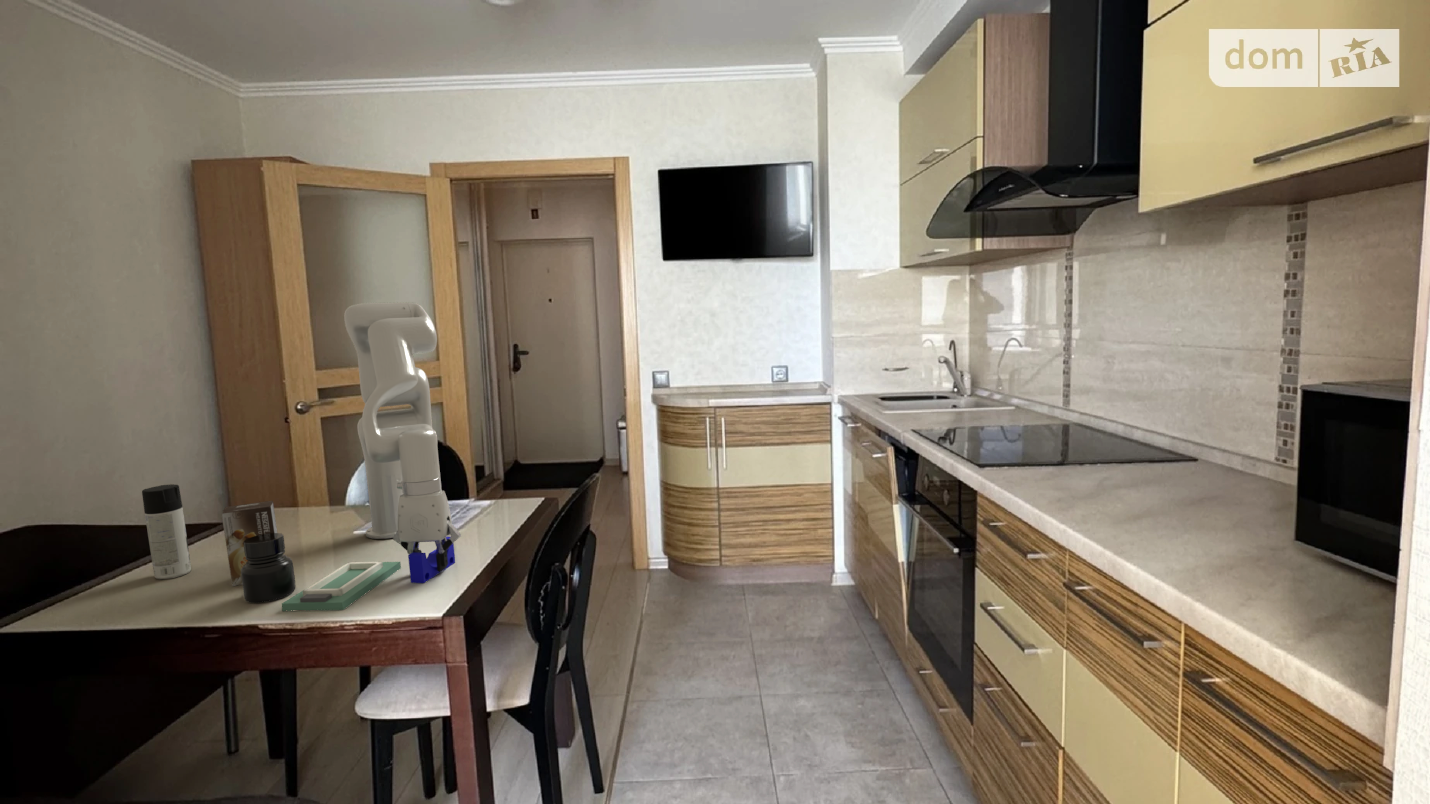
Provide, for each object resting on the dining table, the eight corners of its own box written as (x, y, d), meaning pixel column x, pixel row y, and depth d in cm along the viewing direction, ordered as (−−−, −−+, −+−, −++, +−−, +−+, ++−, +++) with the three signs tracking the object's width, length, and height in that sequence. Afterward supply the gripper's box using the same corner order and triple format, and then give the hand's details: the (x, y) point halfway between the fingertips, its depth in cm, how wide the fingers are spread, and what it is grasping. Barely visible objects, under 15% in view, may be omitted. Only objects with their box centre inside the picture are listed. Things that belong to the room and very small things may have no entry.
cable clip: (437, 562, 158) (434, 536, 157) (455, 562, 157) (452, 536, 156) (404, 582, 146) (401, 554, 145) (424, 583, 145) (421, 555, 144)
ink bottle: (302, 583, 148) (296, 528, 146) (292, 599, 139) (285, 541, 138) (249, 591, 145) (242, 535, 143) (235, 607, 136) (227, 548, 135)
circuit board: (348, 569, 155) (347, 557, 155) (400, 568, 155) (399, 556, 154) (282, 611, 134) (280, 597, 133) (343, 610, 133) (341, 596, 132)
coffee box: (283, 569, 157) (275, 499, 155) (281, 578, 152) (272, 505, 150) (234, 577, 153) (225, 506, 151) (230, 587, 147) (220, 513, 145)
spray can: (199, 570, 159) (187, 484, 156) (167, 581, 152) (154, 491, 150) (178, 568, 161) (166, 483, 158) (146, 578, 155) (133, 490, 152)
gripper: (374, 492, 145) (383, 577, 148) (453, 490, 144) (461, 575, 147) (392, 484, 153) (400, 564, 155) (468, 481, 152) (475, 562, 154)
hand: (430, 568), depth 151 cm, fingers closed on cable clip, 4 cm apart
